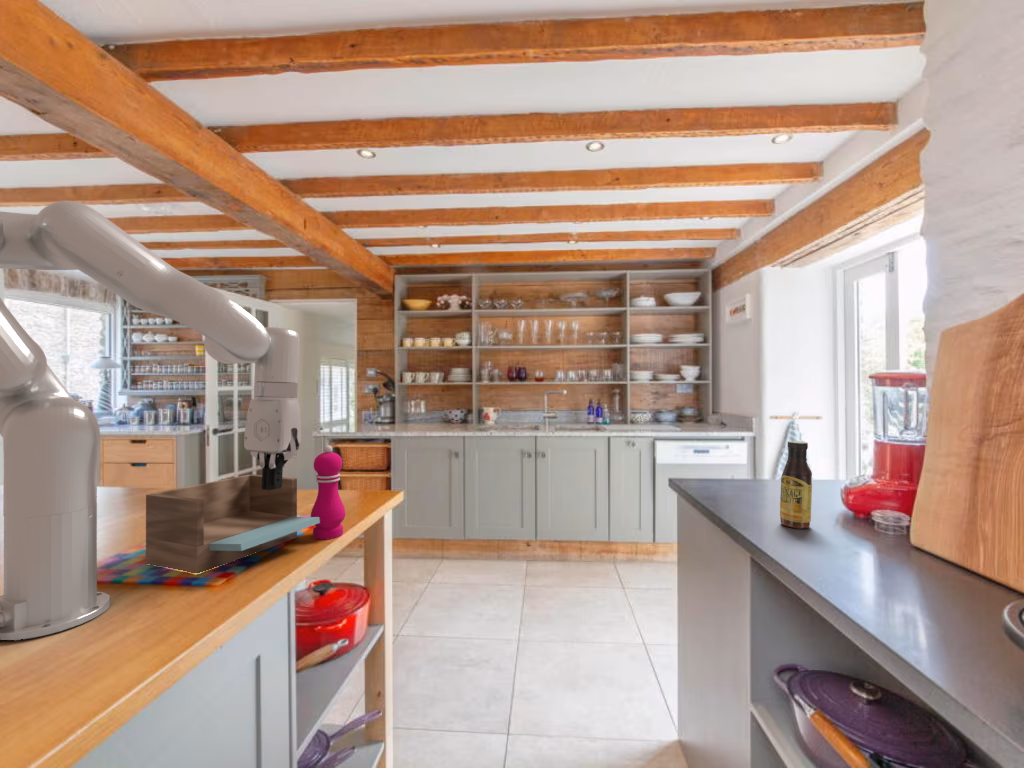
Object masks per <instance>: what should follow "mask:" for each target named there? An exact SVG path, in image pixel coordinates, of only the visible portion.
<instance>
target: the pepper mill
mask: <svg viewBox="0 0 1024 768" xmlns="http://www.w3.org/2000/svg"><path fill="white" fill-rule="evenodd" d="M323 451H324V452H322V453H320V454H318V455H317V456H316V457H315V458H314V462H313V469H314V471H315V473H316V476H315V477H316V480H315V481H316V483H317V484H318V485H317V488H318V489H317V496H316V499H315V502H314V504H313V506H312V508H311V512H310V517H319V520H320V523H318V524H315V525H314V527H313V529H312V537H313V538H314V539H316V540H331V538H332V539H336V538H339V537H341V536H342V535H344V526H343V524H342V522H343V521H344V520H345V518H346V510H345V505H344V503H343V501H342V498H341V496H340V494H339V481H340V480H341V478H340V476H341V473H339V472H340V471H341V470H342V467H343V459H342V456H340V455H339V454H338V453H336V452H333V446H332V445H329V444H328V445H325V447H323ZM335 537H336V538H335Z"/></svg>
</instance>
